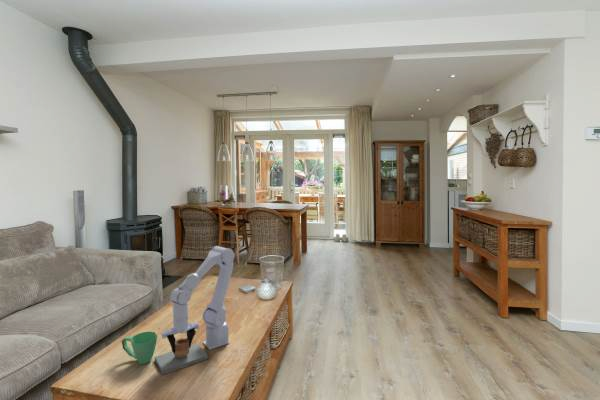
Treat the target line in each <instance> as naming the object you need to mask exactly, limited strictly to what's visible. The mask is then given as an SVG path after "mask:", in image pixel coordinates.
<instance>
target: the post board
mask: <svg viewBox="0 0 600 400" xmlns="http://www.w3.org/2000/svg"><path fill="white" fill-rule="evenodd" d="M208 355H209V354H207V352H206V351H205V350H204V349H203V347H201V346H200V345H199V343H194V344H191V347H190V348H189V353H188V354H187V355H186V356H183V357H175V355H174V353H173V352H172V351H169V352H166V353H164V354H163V353H162V354H159V355H157V356H154V362H155V363H156V365H157V367H158V369H159V371H160V372H161V375H165V374H169V373H171V372H175V371H177V370H179V369H182V368H185V367H188V366H192V365H195V364H196V363H197V364H198V363H201V362H203V361H205V360H209V356H208Z"/></svg>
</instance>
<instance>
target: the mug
mask: <svg viewBox="0 0 600 400" xmlns="http://www.w3.org/2000/svg"><path fill="white" fill-rule="evenodd" d="M127 341H128V342H130V343H131V347H130V346H129V344H128V343H127ZM157 341H158V333H156V332H155V331H143V332H140V333H137V334H135V335H133V336H125V337H124V338H123V339H122V340H121V343H122V349H123V350H124V351H125V352H126V354H128V356H130V357H131V358H134V359H136V360H137V363H138V364H141V365H145V364H149V362H151V361H152V359H153V357H154V354H155V350H156V345H157ZM131 348H132V349H131Z"/></svg>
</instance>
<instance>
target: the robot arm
mask: <svg viewBox="0 0 600 400" xmlns="http://www.w3.org/2000/svg"><path fill="white" fill-rule="evenodd" d="M235 257H236V256H235V253H234V251H233V249H232V248H228V247H227V248H226V247H223V246H218V245H215V246H212V248H211V250H209V251H208V254H207V256H206V258H205V259H204V260H203V262H202V263H201V264H200V266H199V267H198V268H197V269H196V271H195V272H193V273H190V274H187V276H186V278H185V280H183V281H182V283H181V284H179V285H178V287H176V288H174V289H173V290H172V291H171V293H170V295H169V299H170V301H171V303H172V320H173V321H172V324H173V327H171V328H169V329H166V330H164V331H161V338H162V339H166V338H167V340H168V342H169V345H170V348H171V352H173V353H175V341H176V337H175V335H178V334H185V333H186V338H187V339H188V340H189V348H190V347H191V345H192V343H193V339H194V337H195V335H196V332H197V331H196V330H198V329H200V324H199V322H193V323H189V312H188V311H189V306H188V303H189V302H190V300H191V299H192V297H191V296H192V294H193V292H194V291H195V290H196V289H197V287H198V286H199V285H200V284H201V283H202V278H203V276H205V275H206V274H207V273H208V271H210V269H211V268H213V266H215V265H218V266H219V267H220V270H219V272H218V277H217V280H216V285H215V286H214V287H215V288H214V291H213V295H212V299H211V302H210V303H208V304H207V305H206V307H205V310H204V311H203V313H202V320H203V321H204V322H205V323H204V324H205V337H206V339H205V340H204V341H202V344H204V345H205V347H206V348H207V349H208V350H214V349H217V348H219V347H222V346H226V345H228V344H230V342H229V326H228V324H227V322H226V312H227V309H226V307H225V305H224V303H225V301H226V295H227V292H228V289H229V285H230V281H231V277H232V273H233V270H234V259H235Z"/></svg>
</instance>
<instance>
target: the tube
mask: <svg viewBox="0 0 600 400" xmlns="http://www.w3.org/2000/svg"><path fill="white" fill-rule="evenodd" d="M188 353H189V340H188V339H187V337H186V338H185V337H180V338H178V339H175V353H174V355H175V357H183V356H186V355H187V354H188Z"/></svg>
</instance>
